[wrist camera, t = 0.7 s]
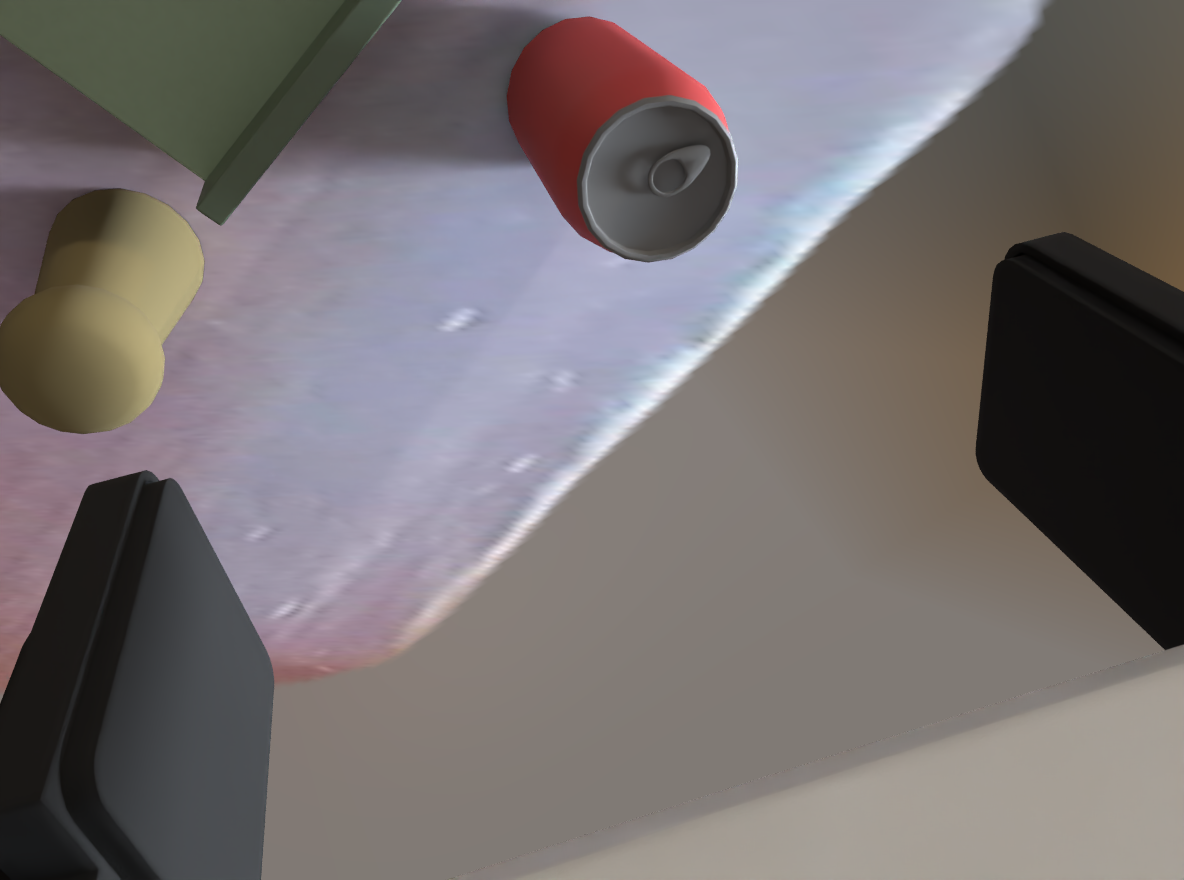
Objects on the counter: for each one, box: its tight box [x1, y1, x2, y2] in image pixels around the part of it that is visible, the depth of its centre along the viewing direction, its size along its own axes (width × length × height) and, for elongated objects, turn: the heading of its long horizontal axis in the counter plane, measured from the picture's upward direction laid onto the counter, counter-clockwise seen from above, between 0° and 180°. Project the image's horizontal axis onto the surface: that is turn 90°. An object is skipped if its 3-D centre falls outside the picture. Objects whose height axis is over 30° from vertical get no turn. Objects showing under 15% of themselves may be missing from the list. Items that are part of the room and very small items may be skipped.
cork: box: [0, 189, 204, 434], centre depth 35 cm, size 6×6×11 cm
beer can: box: [507, 17, 738, 262], centre depth 35 cm, size 7×7×12 cm
